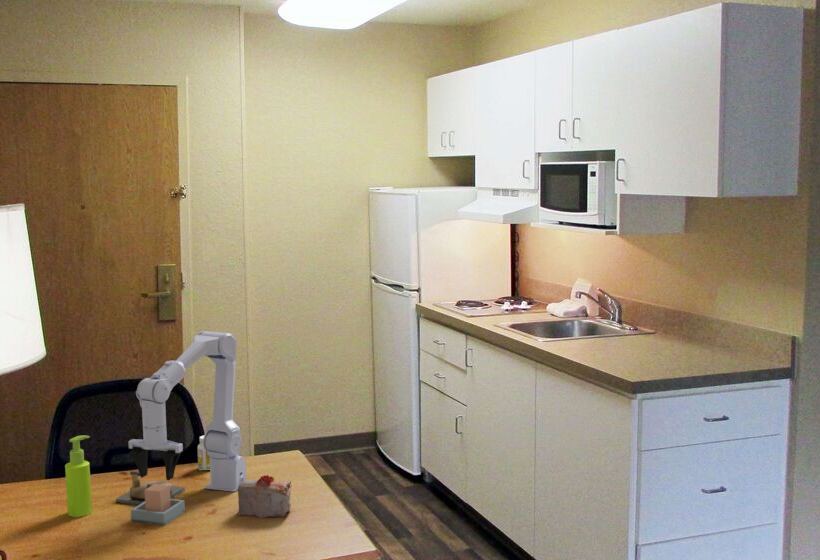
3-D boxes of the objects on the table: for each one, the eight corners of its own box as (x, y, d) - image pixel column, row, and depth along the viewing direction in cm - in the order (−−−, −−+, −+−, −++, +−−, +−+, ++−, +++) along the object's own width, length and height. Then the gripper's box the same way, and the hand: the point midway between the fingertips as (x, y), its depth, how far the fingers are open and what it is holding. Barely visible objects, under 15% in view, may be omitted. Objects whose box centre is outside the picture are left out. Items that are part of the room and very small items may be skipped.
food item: (295, 508, 235) (294, 472, 233) (287, 520, 227) (287, 482, 225) (244, 507, 236) (243, 470, 235) (235, 518, 228) (234, 481, 227)
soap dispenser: (99, 509, 235) (96, 435, 233) (80, 518, 229) (75, 442, 226) (82, 506, 237) (78, 432, 235) (62, 515, 231) (58, 439, 229)
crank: (179, 486, 247) (178, 468, 247) (157, 500, 237) (156, 481, 236) (142, 483, 251) (141, 465, 250) (119, 496, 240) (118, 477, 240)
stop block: (170, 511, 231) (169, 485, 230) (161, 518, 227) (160, 491, 226) (155, 510, 232) (154, 484, 232) (145, 516, 228) (144, 490, 227)
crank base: (184, 490, 248) (184, 486, 248) (158, 507, 236) (158, 503, 236) (144, 486, 252) (143, 482, 252) (116, 502, 240) (115, 498, 240)
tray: (185, 511, 233) (184, 500, 233) (164, 525, 224) (164, 513, 223) (152, 507, 236) (152, 496, 235) (131, 521, 227) (130, 509, 226)
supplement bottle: (219, 465, 269) (218, 434, 268) (213, 471, 264) (212, 439, 263) (201, 465, 270) (200, 434, 269) (195, 471, 264) (194, 439, 263)
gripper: (120, 427, 225) (122, 479, 227) (171, 432, 221) (173, 485, 223) (136, 420, 232) (139, 471, 234) (186, 424, 228) (188, 476, 229)
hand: (156, 477), depth 228 cm, fingers open, 7 cm apart
